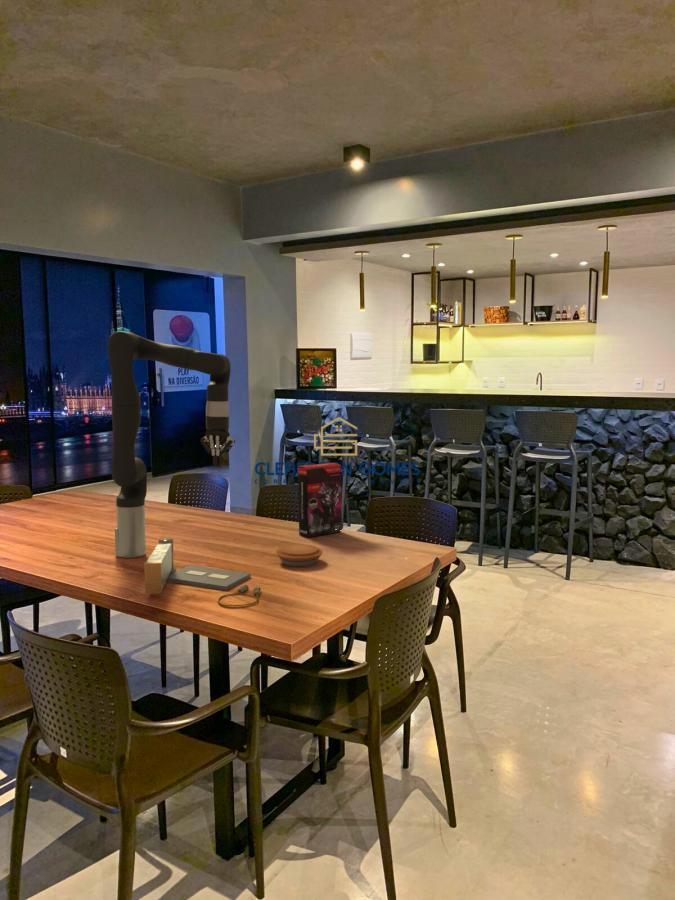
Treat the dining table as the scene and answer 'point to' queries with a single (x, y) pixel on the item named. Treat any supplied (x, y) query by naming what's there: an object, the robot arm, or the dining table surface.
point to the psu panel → (207, 577)
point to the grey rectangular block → (159, 566)
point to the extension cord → (240, 590)
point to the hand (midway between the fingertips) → (217, 466)
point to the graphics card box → (319, 499)
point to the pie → (299, 555)
